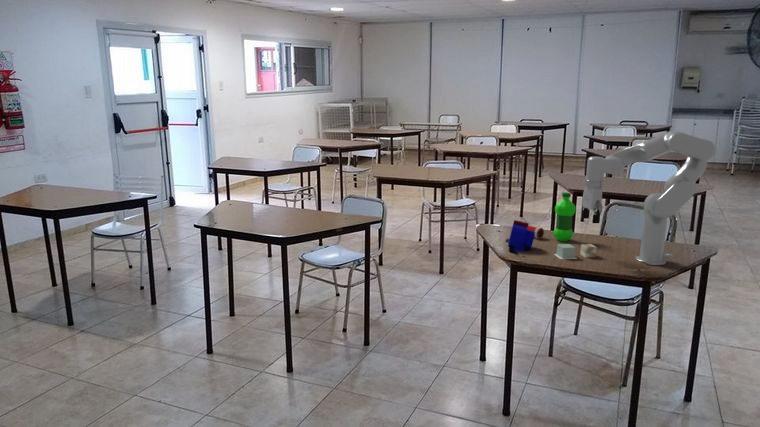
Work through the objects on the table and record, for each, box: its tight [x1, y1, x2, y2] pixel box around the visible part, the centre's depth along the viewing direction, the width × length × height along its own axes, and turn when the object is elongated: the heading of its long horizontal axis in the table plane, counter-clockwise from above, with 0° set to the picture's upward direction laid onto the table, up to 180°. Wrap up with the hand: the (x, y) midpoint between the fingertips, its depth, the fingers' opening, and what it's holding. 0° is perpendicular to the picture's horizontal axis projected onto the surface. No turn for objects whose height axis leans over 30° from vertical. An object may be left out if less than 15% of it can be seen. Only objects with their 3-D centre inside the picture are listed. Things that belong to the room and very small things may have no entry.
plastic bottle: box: [553, 192, 577, 242], centre depth 293 cm, size 10×10×25 cm
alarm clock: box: [507, 219, 535, 254], centre depth 275 cm, size 12×12×15 cm
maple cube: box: [579, 243, 597, 258], centre depth 264 cm, size 5×5×5 cm
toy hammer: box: [505, 225, 545, 243], centre depth 297 cm, size 23×12×6 cm, turn 127°
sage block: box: [555, 243, 576, 258], centre depth 262 cm, size 6×6×5 cm
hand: (590, 220), depth 261 cm, fingers open, 9 cm apart
